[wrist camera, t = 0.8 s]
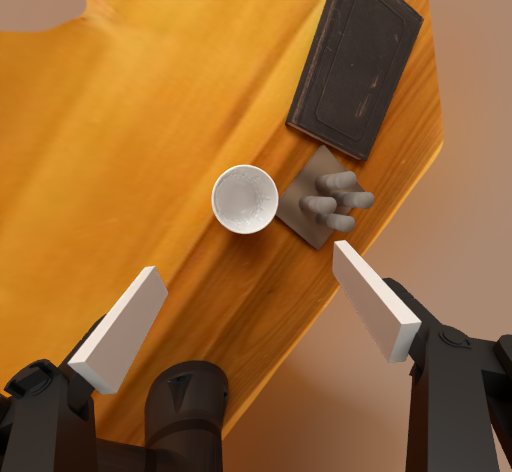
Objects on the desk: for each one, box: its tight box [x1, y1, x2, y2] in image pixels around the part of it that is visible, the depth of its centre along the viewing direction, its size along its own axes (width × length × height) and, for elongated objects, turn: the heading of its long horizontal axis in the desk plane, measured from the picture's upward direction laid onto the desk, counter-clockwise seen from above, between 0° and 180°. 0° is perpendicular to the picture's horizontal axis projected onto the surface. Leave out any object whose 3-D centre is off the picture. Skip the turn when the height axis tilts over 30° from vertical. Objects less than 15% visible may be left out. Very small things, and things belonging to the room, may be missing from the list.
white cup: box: [212, 165, 278, 234], centre depth 26 cm, size 8×8×10 cm
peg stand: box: [275, 145, 374, 250], centre depth 31 cm, size 14×12×8 cm
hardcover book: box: [285, 0, 424, 161], centre depth 30 cm, size 16×23×2 cm
